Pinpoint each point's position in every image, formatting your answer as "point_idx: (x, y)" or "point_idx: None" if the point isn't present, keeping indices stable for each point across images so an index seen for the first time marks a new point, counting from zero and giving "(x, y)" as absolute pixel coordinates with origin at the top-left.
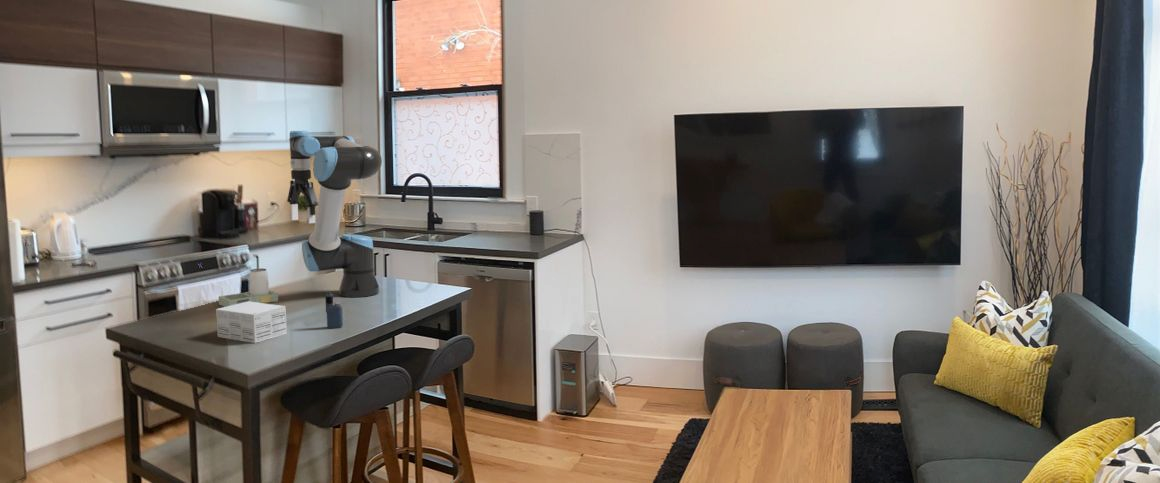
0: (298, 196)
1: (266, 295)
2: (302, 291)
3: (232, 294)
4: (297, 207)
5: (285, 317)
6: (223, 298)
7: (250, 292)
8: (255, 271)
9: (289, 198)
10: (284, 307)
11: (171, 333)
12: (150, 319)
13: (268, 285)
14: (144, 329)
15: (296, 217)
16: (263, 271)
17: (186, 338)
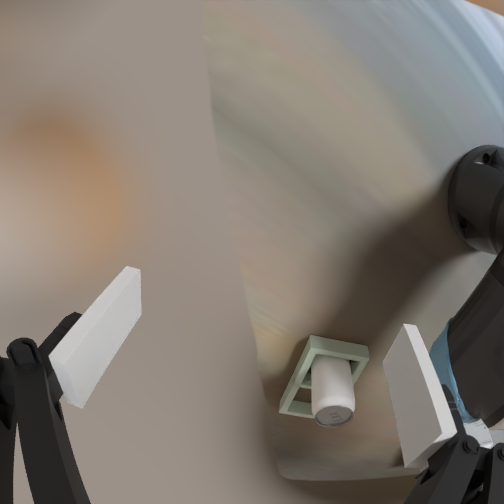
0: (68, 472)
1: (358, 375)
2: (342, 252)
3: (287, 398)
4: (84, 341)
5: (489, 433)
6: (301, 416)
7: (304, 376)
8: (340, 425)
9: (14, 428)
10: (492, 443)
11: (358, 468)
12: (276, 458)
13: (349, 377)
14: (315, 472)
15: (132, 295)
16: (352, 414)
17: (389, 467)
